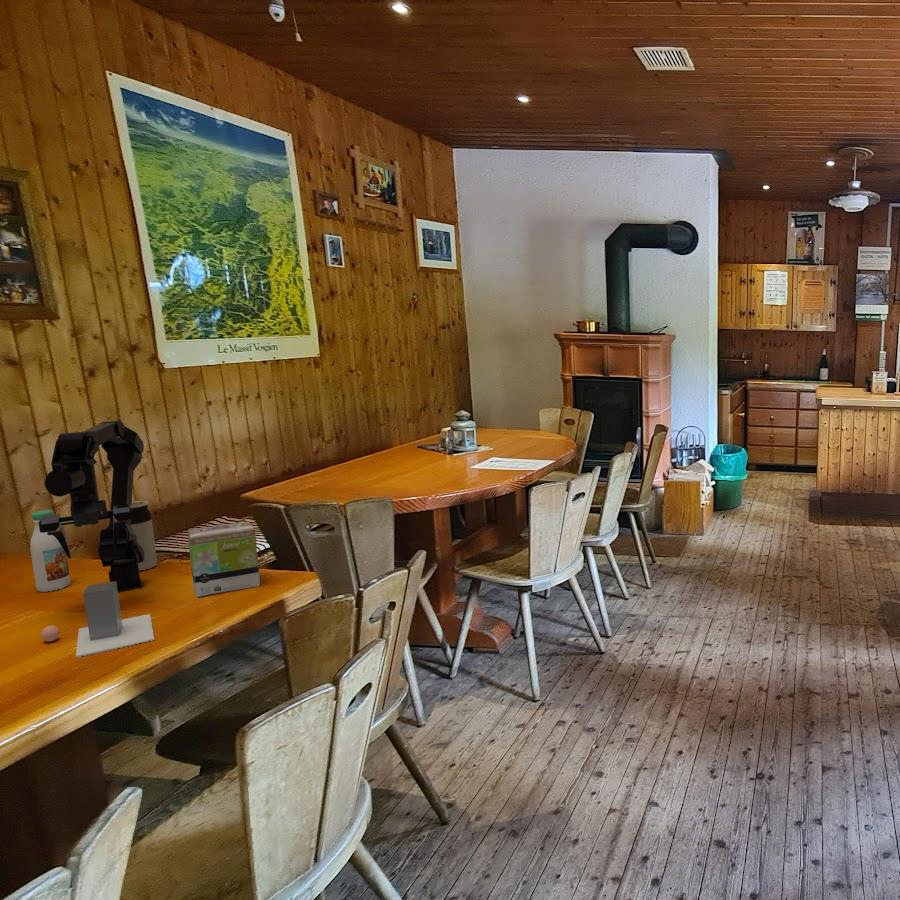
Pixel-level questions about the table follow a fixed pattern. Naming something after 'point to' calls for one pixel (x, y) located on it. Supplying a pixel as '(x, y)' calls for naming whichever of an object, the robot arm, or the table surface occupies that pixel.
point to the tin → (103, 610)
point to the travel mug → (144, 533)
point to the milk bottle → (48, 558)
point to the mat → (116, 637)
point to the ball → (50, 633)
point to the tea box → (223, 558)
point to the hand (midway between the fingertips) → (92, 554)
